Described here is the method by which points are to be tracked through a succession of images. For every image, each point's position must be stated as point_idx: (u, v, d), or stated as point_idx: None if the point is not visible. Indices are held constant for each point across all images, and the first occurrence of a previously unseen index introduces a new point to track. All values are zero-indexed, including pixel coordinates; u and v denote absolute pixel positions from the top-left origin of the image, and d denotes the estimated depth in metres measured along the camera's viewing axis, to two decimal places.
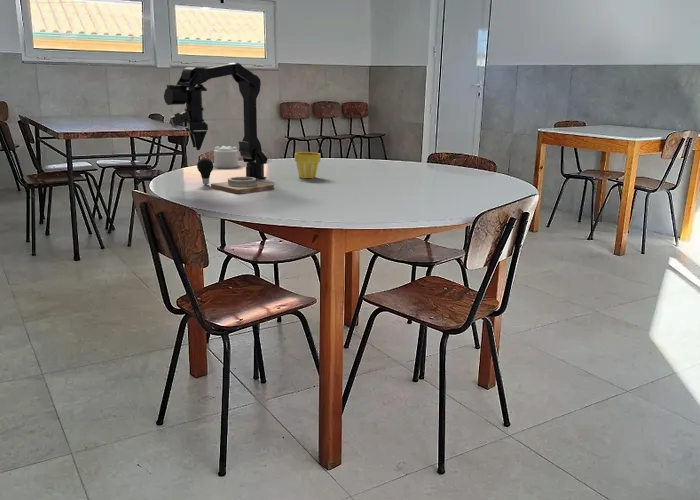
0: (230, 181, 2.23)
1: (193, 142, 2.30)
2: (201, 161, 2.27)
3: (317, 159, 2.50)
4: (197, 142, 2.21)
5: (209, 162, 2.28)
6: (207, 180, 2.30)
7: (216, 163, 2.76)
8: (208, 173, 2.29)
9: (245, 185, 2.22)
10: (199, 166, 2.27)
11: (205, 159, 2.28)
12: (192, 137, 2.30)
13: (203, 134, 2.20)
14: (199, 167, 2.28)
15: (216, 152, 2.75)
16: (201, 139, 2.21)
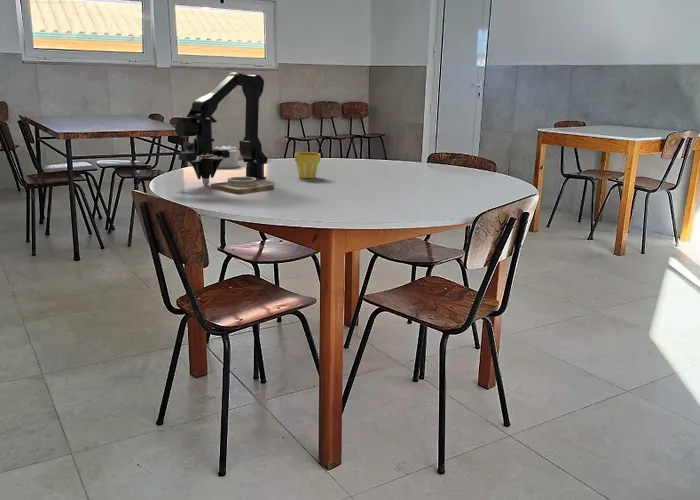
0: (230, 181, 2.23)
1: None
2: None
3: (317, 159, 2.50)
4: (196, 171, 2.28)
5: (209, 162, 2.28)
6: (207, 180, 2.30)
7: None
8: (208, 173, 2.29)
9: (245, 185, 2.22)
10: None
11: (205, 159, 2.28)
12: None
13: (197, 164, 2.25)
14: None
15: None
16: (197, 169, 2.26)
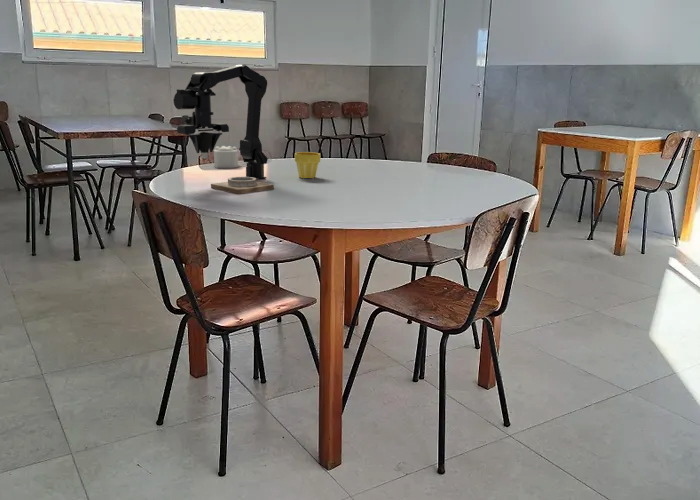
0: (230, 181, 2.23)
1: (209, 147, 2.30)
2: None
3: (317, 159, 2.50)
4: (194, 145, 2.25)
5: (208, 136, 2.26)
6: (206, 154, 2.28)
7: (216, 163, 2.76)
8: (207, 147, 2.27)
9: (245, 185, 2.22)
10: None
11: (204, 133, 2.26)
12: None
13: (195, 138, 2.23)
14: None
15: (216, 152, 2.75)
16: (196, 142, 2.24)
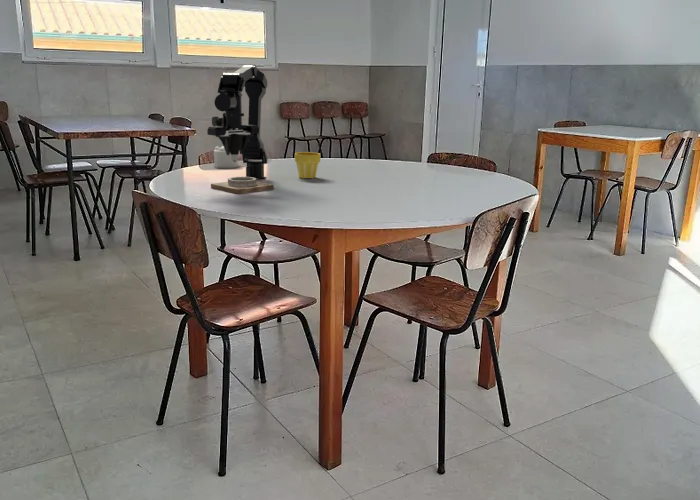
0: (230, 181, 2.23)
1: None
2: None
3: (317, 159, 2.50)
4: (224, 147, 2.21)
5: (238, 137, 2.21)
6: (236, 156, 2.24)
7: (216, 163, 2.76)
8: (237, 149, 2.23)
9: (245, 185, 2.22)
10: None
11: (234, 134, 2.21)
12: None
13: (226, 139, 2.19)
14: None
15: (216, 152, 2.75)
16: (226, 144, 2.20)
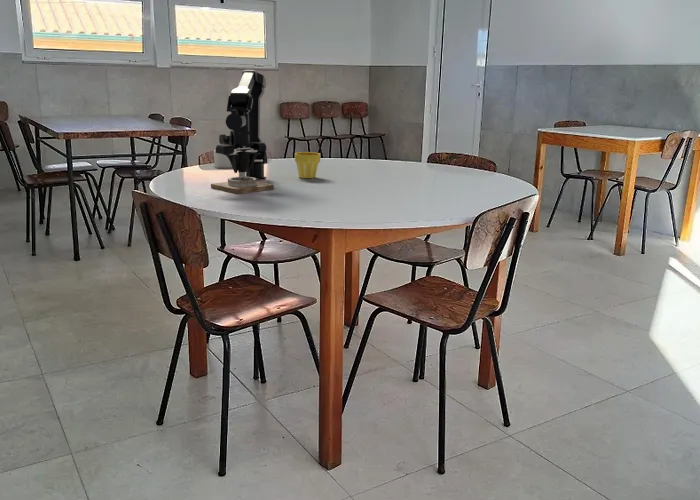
0: (230, 181, 2.23)
1: (247, 166, 2.27)
2: None
3: (317, 159, 2.50)
4: (232, 165, 2.22)
5: (246, 155, 2.22)
6: (244, 174, 2.25)
7: (216, 163, 2.76)
8: (245, 167, 2.24)
9: (245, 185, 2.22)
10: None
11: (242, 152, 2.22)
12: None
13: (234, 158, 2.19)
14: None
15: None
16: (234, 162, 2.21)
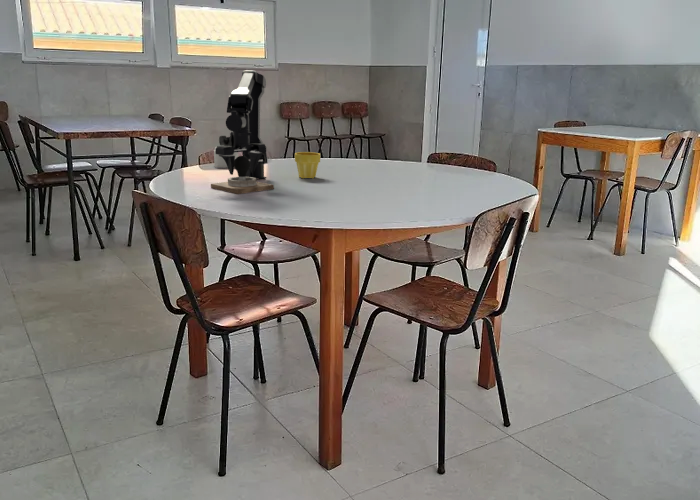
0: (230, 181, 2.23)
1: (251, 167, 2.28)
2: (238, 159, 2.22)
3: (317, 159, 2.50)
4: (228, 166, 2.21)
5: (246, 160, 2.23)
6: (244, 178, 2.25)
7: (216, 163, 2.76)
8: (245, 171, 2.24)
9: (245, 185, 2.22)
10: (236, 164, 2.22)
11: (242, 157, 2.23)
12: (251, 162, 2.28)
13: (229, 159, 2.18)
14: (236, 165, 2.22)
15: None
16: (230, 164, 2.19)
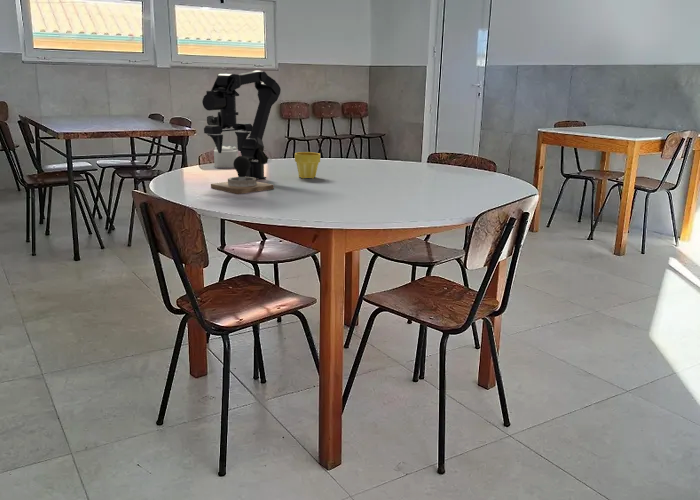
0: (230, 181, 2.23)
1: (238, 146, 2.37)
2: (238, 159, 2.22)
3: (317, 159, 2.50)
4: (216, 145, 2.29)
5: (246, 160, 2.23)
6: (244, 178, 2.25)
7: (216, 163, 2.76)
8: (245, 171, 2.24)
9: (245, 185, 2.22)
10: (236, 164, 2.22)
11: (242, 157, 2.23)
12: (238, 141, 2.37)
13: (218, 138, 2.26)
14: (236, 165, 2.22)
15: (216, 152, 2.75)
16: (218, 143, 2.28)
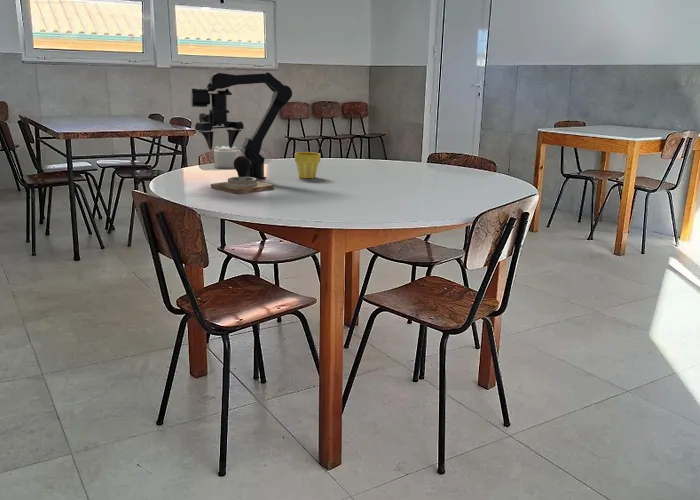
0: (230, 181, 2.23)
1: (229, 143, 2.45)
2: (238, 159, 2.22)
3: (317, 159, 2.50)
4: (207, 142, 2.37)
5: (246, 160, 2.23)
6: (244, 178, 2.25)
7: (216, 163, 2.76)
8: (245, 171, 2.24)
9: (245, 185, 2.22)
10: (236, 164, 2.22)
11: (242, 157, 2.23)
12: (229, 138, 2.44)
13: (208, 135, 2.34)
14: (236, 165, 2.22)
15: (216, 152, 2.75)
16: (209, 139, 2.36)
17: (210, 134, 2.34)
